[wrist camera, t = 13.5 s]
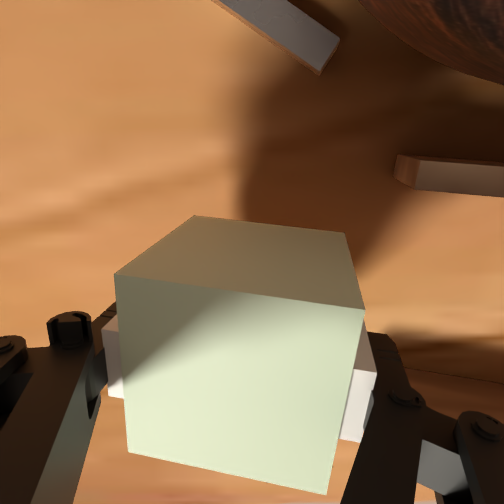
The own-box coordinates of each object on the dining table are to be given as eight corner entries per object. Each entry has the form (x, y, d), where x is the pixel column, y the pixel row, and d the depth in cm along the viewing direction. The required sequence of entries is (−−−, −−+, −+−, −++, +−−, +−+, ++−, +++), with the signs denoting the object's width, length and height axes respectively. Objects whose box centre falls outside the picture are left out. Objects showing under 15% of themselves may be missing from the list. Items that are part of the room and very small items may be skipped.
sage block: (194, 215, 16) (113, 274, 10) (344, 232, 15) (365, 310, 9) (192, 339, 19) (128, 451, 12) (322, 361, 18) (325, 495, 11)
